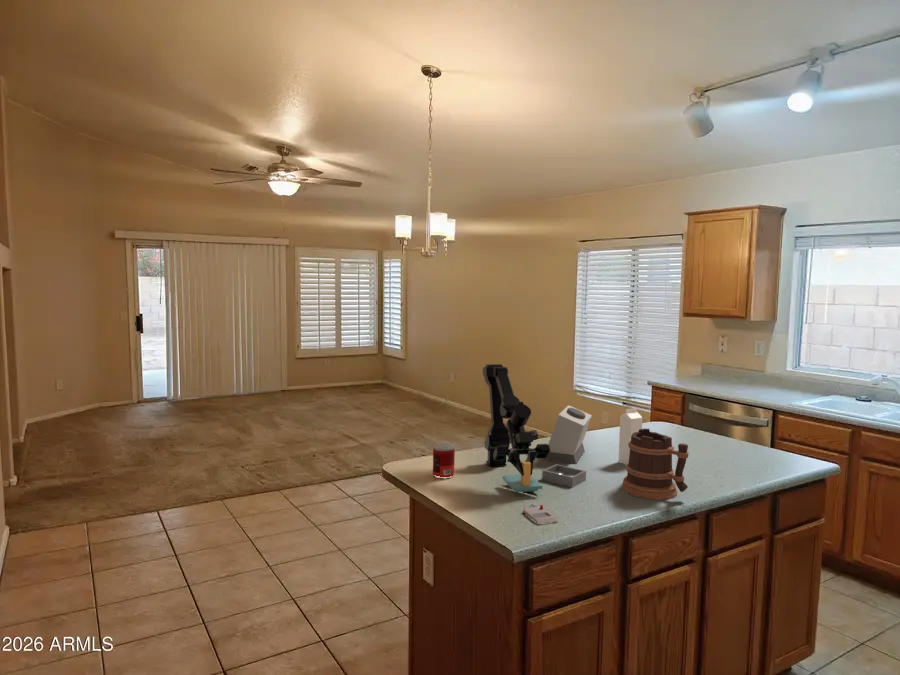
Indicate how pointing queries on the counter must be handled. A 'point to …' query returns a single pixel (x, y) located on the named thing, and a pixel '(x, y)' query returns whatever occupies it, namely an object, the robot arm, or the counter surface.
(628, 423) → the milk
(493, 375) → the robot arm
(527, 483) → the lid
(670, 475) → the mug
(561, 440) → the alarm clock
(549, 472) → the tub
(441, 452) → the canned food
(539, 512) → the electrical control box
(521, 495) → the counter surface
